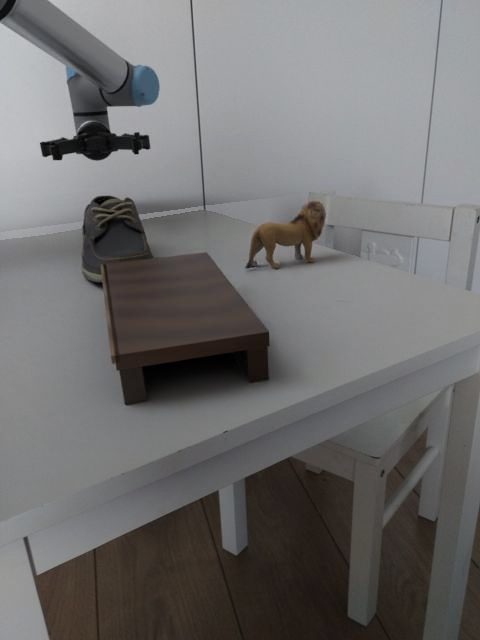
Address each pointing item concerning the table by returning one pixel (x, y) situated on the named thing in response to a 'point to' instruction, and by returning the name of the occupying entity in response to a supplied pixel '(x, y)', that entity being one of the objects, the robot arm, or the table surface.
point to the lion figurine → (289, 234)
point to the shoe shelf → (177, 318)
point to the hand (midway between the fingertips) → (97, 149)
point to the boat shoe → (111, 235)
